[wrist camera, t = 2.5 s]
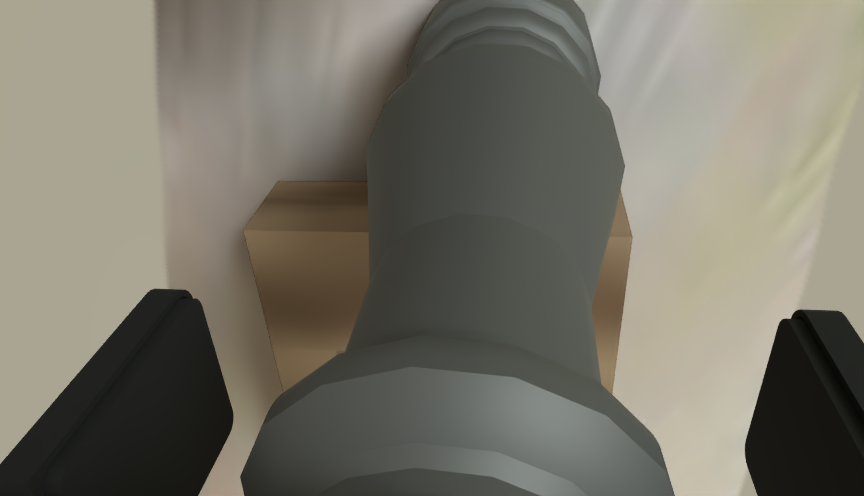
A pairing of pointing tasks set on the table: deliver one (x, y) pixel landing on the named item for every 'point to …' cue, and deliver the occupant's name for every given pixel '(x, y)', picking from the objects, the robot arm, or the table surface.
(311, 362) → the holder board
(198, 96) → the table surface
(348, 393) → the candle holder
